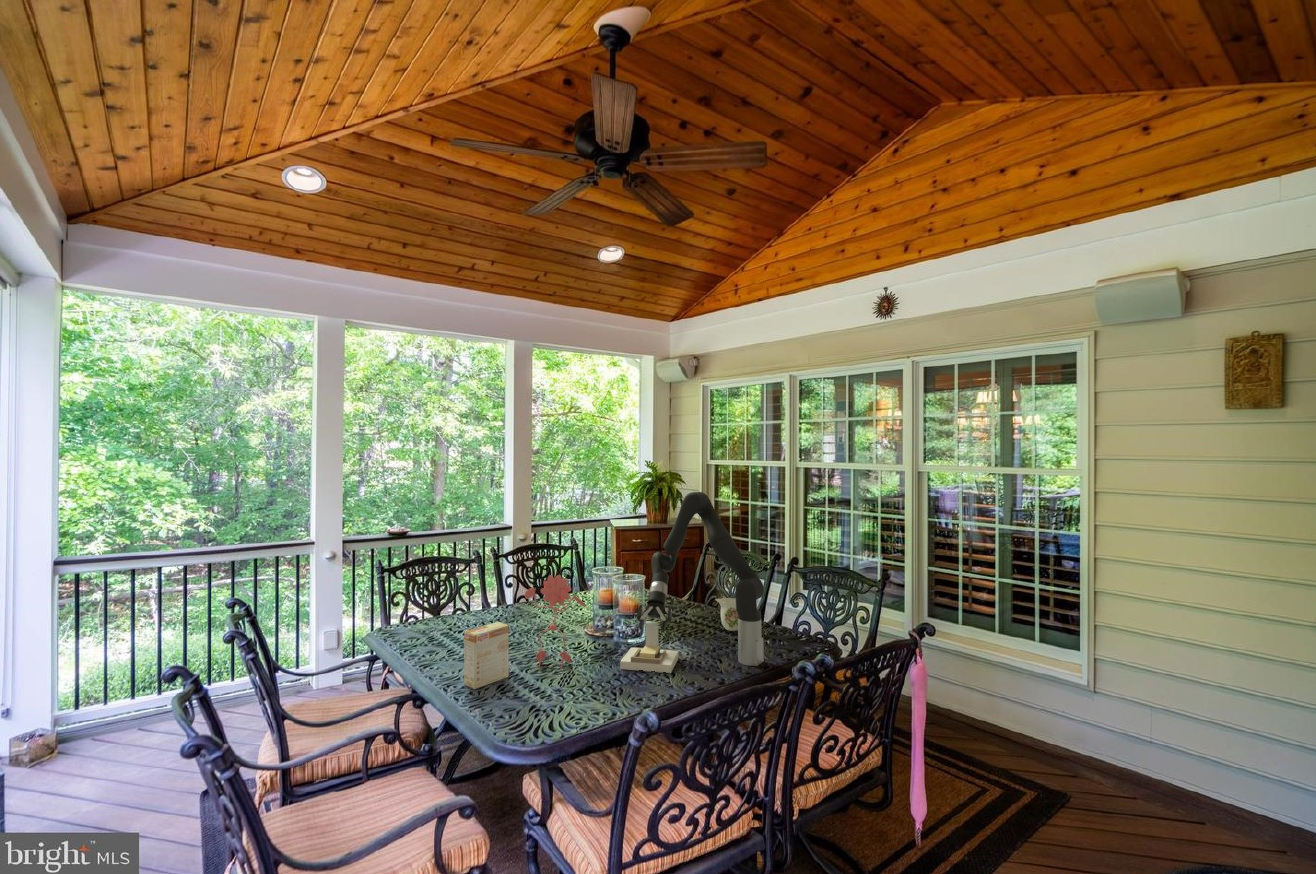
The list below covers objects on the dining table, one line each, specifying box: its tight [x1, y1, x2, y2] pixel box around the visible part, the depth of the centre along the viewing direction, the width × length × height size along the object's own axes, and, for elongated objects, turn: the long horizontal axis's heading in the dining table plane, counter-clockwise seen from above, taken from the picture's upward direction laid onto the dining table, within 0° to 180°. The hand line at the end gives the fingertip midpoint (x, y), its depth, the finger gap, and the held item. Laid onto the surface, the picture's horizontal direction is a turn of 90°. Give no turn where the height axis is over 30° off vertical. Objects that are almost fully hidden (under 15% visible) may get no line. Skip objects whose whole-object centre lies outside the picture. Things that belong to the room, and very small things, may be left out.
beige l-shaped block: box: [639, 620, 661, 658], centre depth 232 cm, size 9×6×12 cm
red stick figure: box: [524, 574, 586, 671], centre depth 235 cm, size 15×26×35 cm, turn 79°
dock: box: [619, 646, 680, 674], centre depth 232 cm, size 20×16×5 cm
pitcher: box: [715, 597, 738, 632], centre depth 277 cm, size 11×18×14 cm, turn 86°
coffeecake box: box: [463, 621, 510, 690], centre depth 216 cm, size 15×7×20 cm, turn 141°
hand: (651, 630), depth 235 cm, fingers open, 8 cm apart
